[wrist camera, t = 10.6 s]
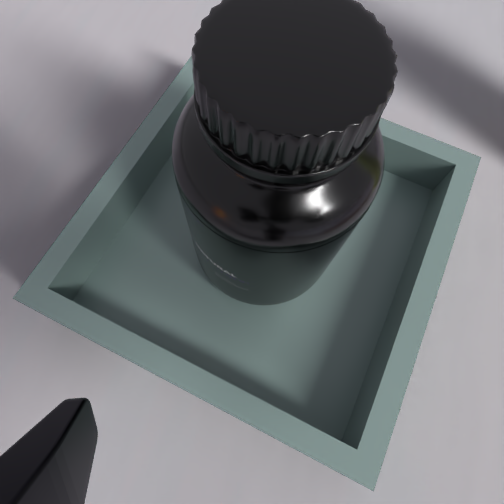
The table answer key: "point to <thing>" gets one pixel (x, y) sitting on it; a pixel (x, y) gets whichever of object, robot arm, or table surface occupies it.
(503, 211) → the table surface
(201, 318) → the tray
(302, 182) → the supplement bottle
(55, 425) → the robot arm
